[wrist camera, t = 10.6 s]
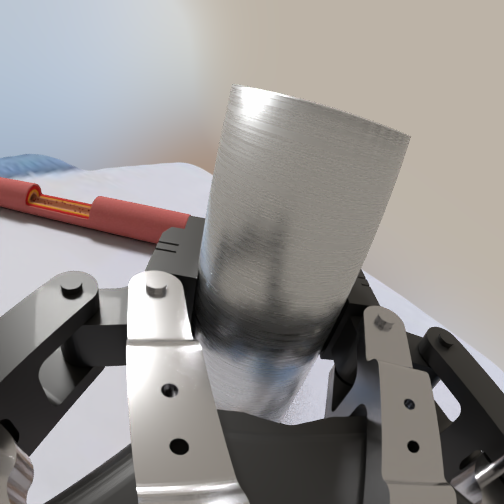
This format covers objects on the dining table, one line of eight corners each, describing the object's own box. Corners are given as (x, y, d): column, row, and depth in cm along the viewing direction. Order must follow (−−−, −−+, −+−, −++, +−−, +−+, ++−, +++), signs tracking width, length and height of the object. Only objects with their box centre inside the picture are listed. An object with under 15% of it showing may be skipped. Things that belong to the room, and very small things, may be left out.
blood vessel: (189, 239, 48) (193, 209, 45) (181, 256, 44) (185, 224, 41) (-9, 195, 45) (-11, 170, 43) (-25, 205, 41) (-28, 180, 39)
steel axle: (159, 437, 12) (192, 77, 6) (213, 390, 16) (285, 94, 9) (229, 490, 11) (398, 133, 4) (277, 433, 14) (416, 138, 7)
